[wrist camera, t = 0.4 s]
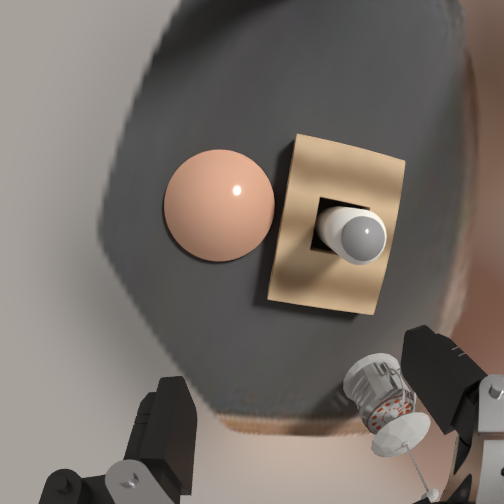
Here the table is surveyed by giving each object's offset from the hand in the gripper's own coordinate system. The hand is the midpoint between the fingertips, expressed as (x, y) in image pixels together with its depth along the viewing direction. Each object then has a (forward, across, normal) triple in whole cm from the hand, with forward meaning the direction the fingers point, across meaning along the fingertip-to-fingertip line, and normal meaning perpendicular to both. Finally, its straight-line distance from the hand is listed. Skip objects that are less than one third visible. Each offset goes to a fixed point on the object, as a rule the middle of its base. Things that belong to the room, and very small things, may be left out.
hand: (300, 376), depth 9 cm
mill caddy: (+28, -11, +2) cm, 30 cm away
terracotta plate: (+30, +4, -2) cm, 30 cm away
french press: (+25, -15, +26) cm, 39 cm away
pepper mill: (+28, -11, +2) cm, 30 cm away
